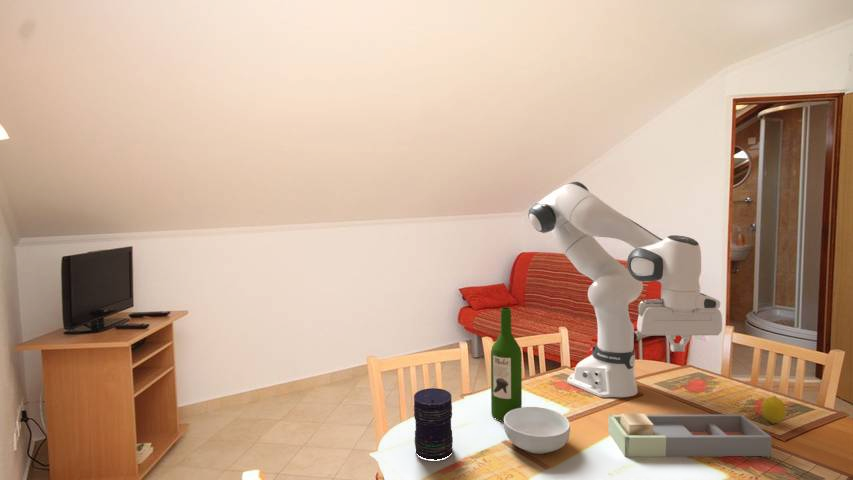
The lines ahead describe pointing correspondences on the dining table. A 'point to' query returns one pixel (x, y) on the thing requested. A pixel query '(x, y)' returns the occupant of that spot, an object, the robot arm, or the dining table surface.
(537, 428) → the cereal bowl
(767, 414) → the lemon
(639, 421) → the block
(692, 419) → the tray
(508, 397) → the wine bottle
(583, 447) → the dining table surface
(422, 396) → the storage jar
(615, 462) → the dining table surface
